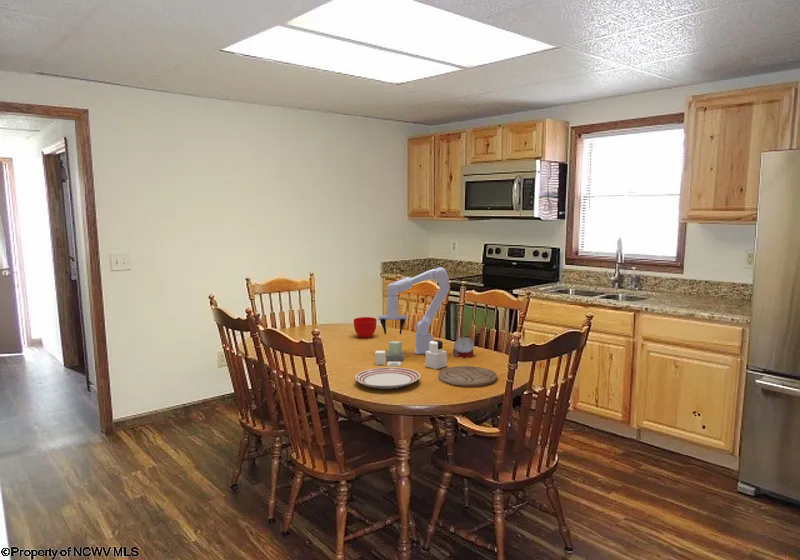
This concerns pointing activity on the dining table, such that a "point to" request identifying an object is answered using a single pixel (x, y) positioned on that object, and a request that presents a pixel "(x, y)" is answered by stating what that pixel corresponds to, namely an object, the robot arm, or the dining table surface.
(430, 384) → the dining table surface
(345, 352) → the dining table surface
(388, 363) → the card
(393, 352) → the sage block
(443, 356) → the medicine bottle
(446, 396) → the dining table surface
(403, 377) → the dinner plate
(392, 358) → the base slab
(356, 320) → the ceramic cup
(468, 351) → the canned food
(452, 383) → the trivet
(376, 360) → the offwhite block
